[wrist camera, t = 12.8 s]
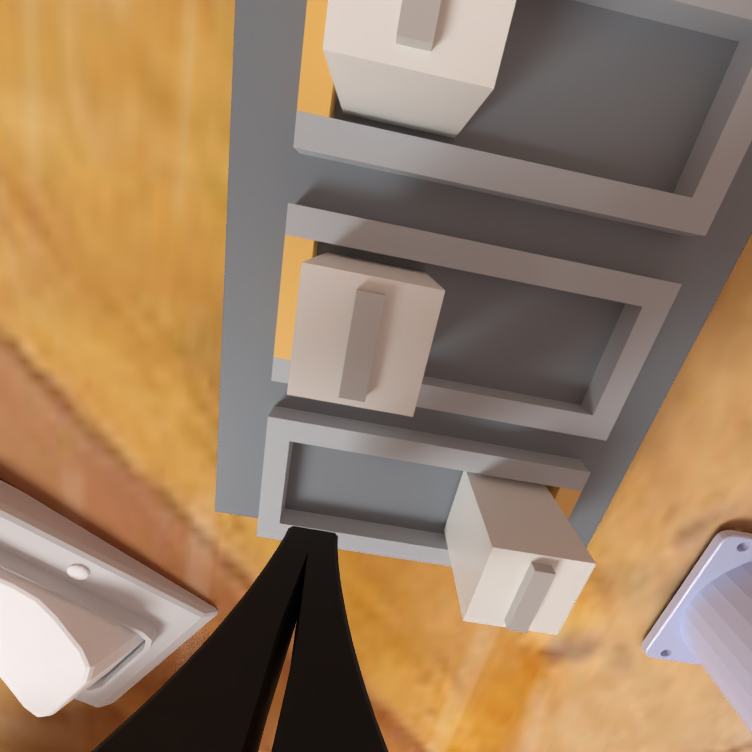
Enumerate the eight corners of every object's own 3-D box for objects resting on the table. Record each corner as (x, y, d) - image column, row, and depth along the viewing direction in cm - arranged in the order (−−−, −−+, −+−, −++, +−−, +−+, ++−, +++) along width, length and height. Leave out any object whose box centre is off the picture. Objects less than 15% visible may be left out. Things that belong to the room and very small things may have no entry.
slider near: (487, -7, 9) (567, -182, 5) (454, 138, 10) (499, 82, 6) (363, -37, 9) (349, -242, 5) (343, 113, 10) (320, 40, 6)
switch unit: (806, 49, 10) (903, 8, 8) (561, 547, 17) (584, 587, 15) (258, -89, 9) (226, -169, 7) (226, 493, 16) (206, 528, 14)
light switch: (79, 770, 19) (-223, 674, 15) (126, 678, 23) (-105, 581, 19) (199, 675, 16) (-137, 525, 12) (230, 587, 20) (-18, 451, 16)
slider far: (542, 480, 14) (602, 573, 10) (516, 541, 15) (561, 645, 11) (464, 467, 14) (495, 556, 10) (443, 529, 15) (464, 630, 11)
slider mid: (425, 272, 11) (448, 292, 7) (404, 364, 12) (413, 423, 8) (327, 252, 11) (298, 263, 7) (313, 347, 12) (283, 400, 8)
